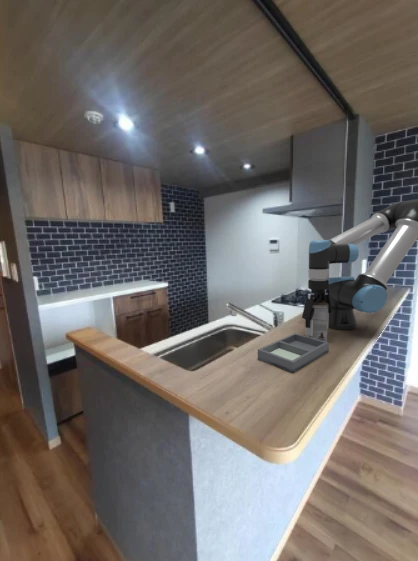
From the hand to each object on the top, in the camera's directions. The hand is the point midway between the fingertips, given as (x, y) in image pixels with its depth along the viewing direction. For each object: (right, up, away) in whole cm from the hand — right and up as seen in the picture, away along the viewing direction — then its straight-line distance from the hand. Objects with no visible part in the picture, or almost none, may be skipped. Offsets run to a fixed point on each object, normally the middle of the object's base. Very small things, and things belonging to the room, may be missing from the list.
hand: (317, 331), depth 108 cm
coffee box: (0, -4, +1) cm, 4 cm away
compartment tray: (-14, -6, -14) cm, 20 cm away
